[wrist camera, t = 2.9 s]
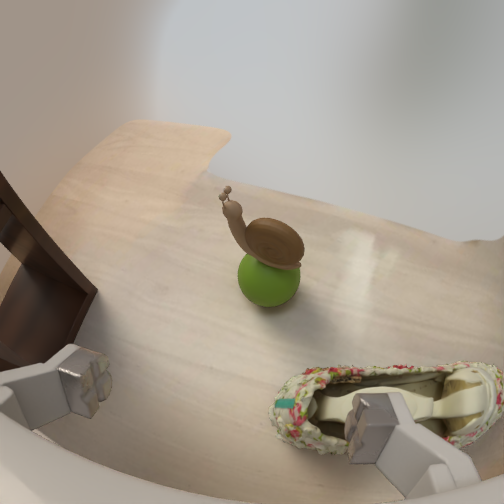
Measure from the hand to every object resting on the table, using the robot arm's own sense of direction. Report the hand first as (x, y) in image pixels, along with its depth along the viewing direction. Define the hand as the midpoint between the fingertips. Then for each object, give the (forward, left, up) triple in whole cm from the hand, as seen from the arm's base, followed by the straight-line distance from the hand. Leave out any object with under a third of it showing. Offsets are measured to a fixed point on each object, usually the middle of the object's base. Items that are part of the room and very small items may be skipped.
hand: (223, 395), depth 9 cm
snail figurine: (+3, +11, -17) cm, 21 cm away
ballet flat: (+14, -4, -17) cm, 22 cm away
